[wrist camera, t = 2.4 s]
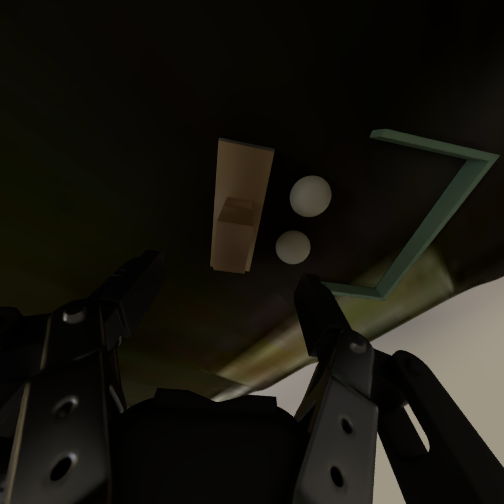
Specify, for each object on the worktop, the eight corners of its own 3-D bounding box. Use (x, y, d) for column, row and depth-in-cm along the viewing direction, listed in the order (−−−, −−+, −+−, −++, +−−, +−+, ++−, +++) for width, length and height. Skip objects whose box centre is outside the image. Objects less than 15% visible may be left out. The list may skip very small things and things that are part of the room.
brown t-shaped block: (213, 252, 24) (195, 308, 16) (221, 138, 17) (197, 132, 9) (250, 257, 24) (251, 314, 16) (272, 148, 17) (293, 152, 9)
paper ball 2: (282, 206, 21) (289, 219, 17) (292, 169, 19) (302, 175, 15) (315, 212, 21) (327, 225, 18) (328, 176, 19) (345, 183, 16)
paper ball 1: (270, 250, 24) (274, 268, 20) (278, 222, 22) (283, 237, 18) (299, 254, 24) (307, 272, 21) (309, 227, 22) (320, 243, 19)
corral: (305, 282, 27) (309, 291, 25) (372, 130, 17) (386, 128, 15) (376, 291, 28) (384, 301, 26) (476, 154, 18) (500, 155, 16)
